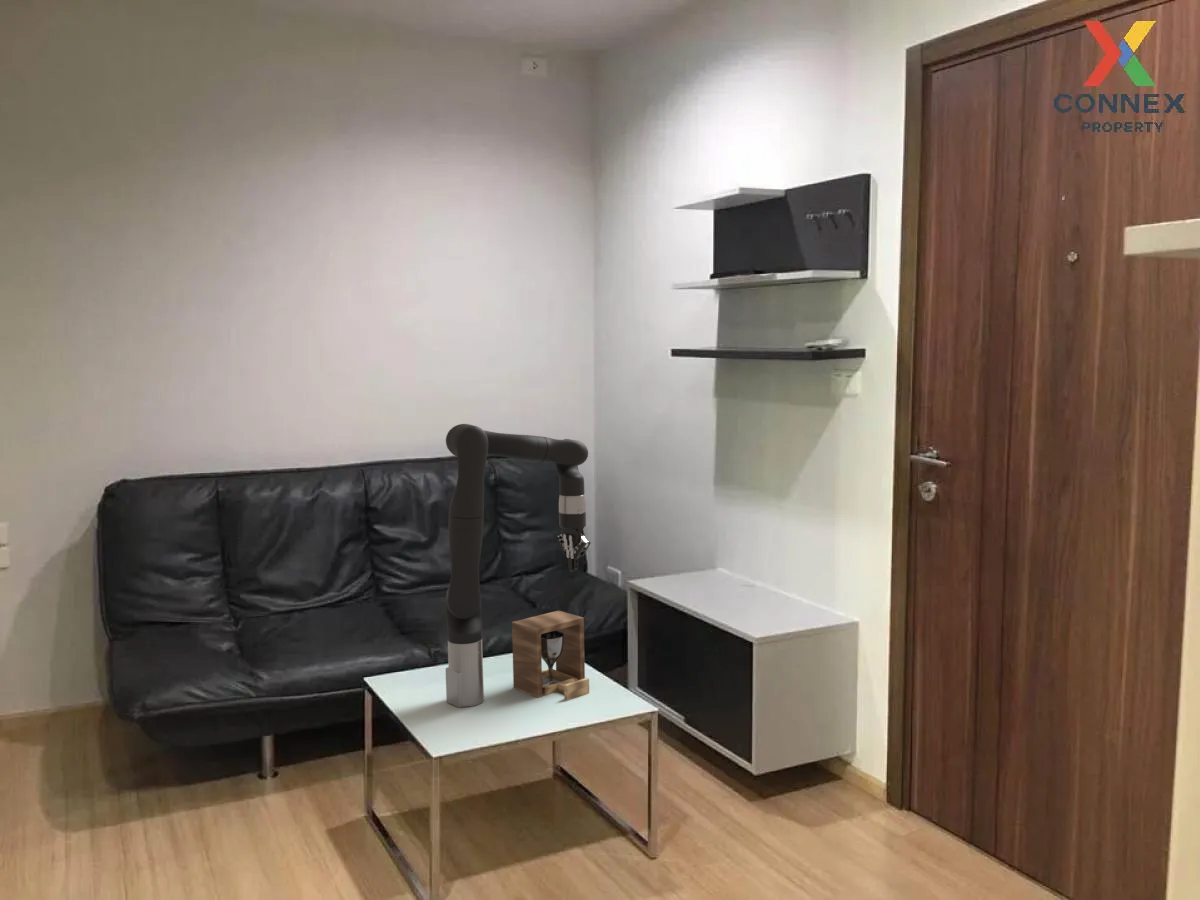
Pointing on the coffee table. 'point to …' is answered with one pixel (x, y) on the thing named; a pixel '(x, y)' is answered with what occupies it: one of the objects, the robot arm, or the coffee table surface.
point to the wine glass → (551, 650)
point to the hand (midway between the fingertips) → (573, 570)
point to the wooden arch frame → (529, 649)
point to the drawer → (566, 685)
